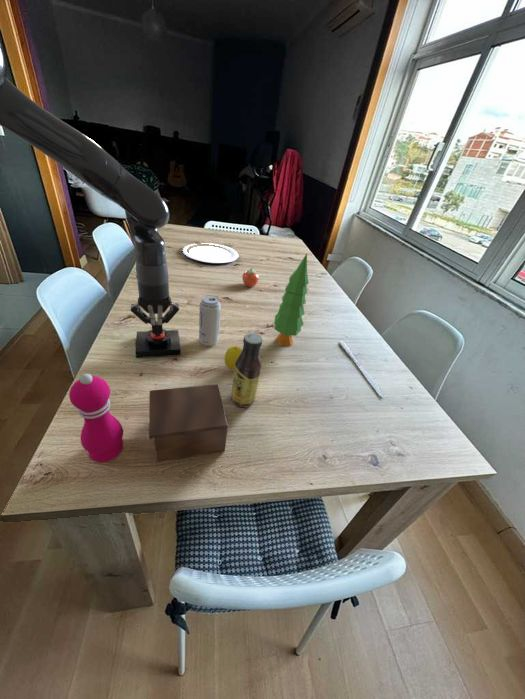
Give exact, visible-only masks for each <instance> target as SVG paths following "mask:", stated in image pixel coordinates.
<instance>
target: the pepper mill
mask: <svg viewBox="0 0 525 699" xmlns="http://www.w3.org/2000/svg"><path fill="white" fill-rule="evenodd" d="M68 397H69V401H70V403H71V404H72V406H73V407H74V408H76V410H77V413H78V415H79V416H80V417H81V418H83V420H84V423H83V426H82V429H81V432H80V443H81V444H80V445H81V446H82V449H84V450H85V451H87V453H88V457H89V459H91V460H92V461H94V462H96V463H107V462H109V461H112V460H115V459H116V458H117V457H118V456H119V455H120V454H121V453H122V452H123V449H124V440H123V437H124V428H123V425H122V423H121V422H120V421H119V419H117V417H115V416H114V415H113V414H111V412H110V411H109V410H110V408H111V400H110V397H111V387H110V385H109V384H108V382H107V381H106V380H105V379H104V378H102V377H99V376H94V375H92V374H90V373H84V374H81V375H80V376H79V379H78V380H76V381H75V382H74V383H73V384H72V385H71V387H70V389H69V394H68Z"/></svg>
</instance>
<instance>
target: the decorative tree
mask: <svg viewBox="0 0 525 699" xmlns="http://www.w3.org/2000/svg"><path fill="white" fill-rule="evenodd" d="M308 285H309V277H308V253H306V254H304V256H303V259H302V260H301V261H300V263H299V264H298V266H297V267H296V269H295V270H294V271H293V272H292V273H291V275H290V276H289V279H288V282H287V285H286V286H285V292H284V294H283V295H282V296H281V297H282V298H281V301H282V302H281V303H280V304H279V309H278V312H277V313H276V314H275V316H274V322H273V324H274V329H273V330H275V331H276V332H278V333H279V334H278V336H277V337H276V338H275V341H276V342H277V343H278V344H279V345H280V346H287V347H289V346H290V347H291V346H292V345H293V343H294V342H293V336H295V337H297V335H298V334H299V333H300V332H301V331H302V327H303V326H304V320H303V316H304V315H305V314H306V313H305V309H304V305H306V304H307V302H306V301H307V300H306V295H307V294H308V287H307V286H308Z"/></svg>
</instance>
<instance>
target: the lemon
mask: <svg viewBox="0 0 525 699" xmlns="http://www.w3.org/2000/svg"><path fill="white" fill-rule="evenodd" d="M242 350H243V348H241V347H239V346H235V345H234V346H231V347H229V348H228V349H227V350H226V351H225V354H224V358H223V360H224V364H225V366H226V367H227V369H228V370H230V371H231V370H232V371H234V368H235V362H236V361H237V359H238V357H239V356H240V354H241V352H242Z"/></svg>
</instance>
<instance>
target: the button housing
mask: <svg viewBox="0 0 525 699" xmlns="http://www.w3.org/2000/svg"><path fill="white" fill-rule="evenodd" d="M151 332H152V329H150V330H145V331H136V338H135V349H134V350H135V351H134V354H135V358H136V359H141V358H142V359H143V358H156V357H157V358H158V357H170V356H171V357H173V356H181V343H180V333H179V329H170V330H167V329H164V328H163V332H164V333H165V338H163V339H161V340H154V339H151V337H150V334H151Z"/></svg>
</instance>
